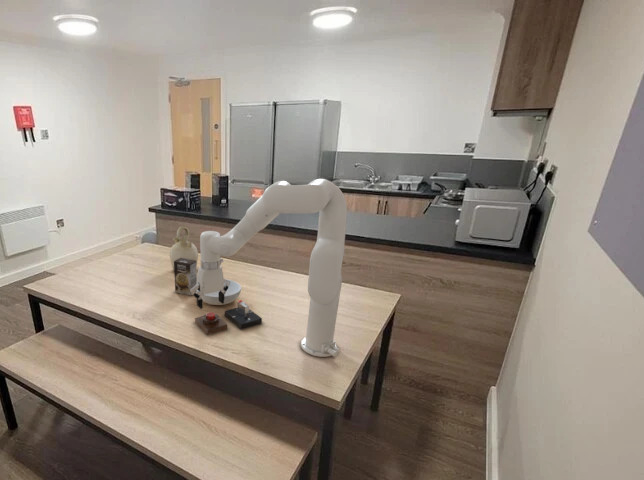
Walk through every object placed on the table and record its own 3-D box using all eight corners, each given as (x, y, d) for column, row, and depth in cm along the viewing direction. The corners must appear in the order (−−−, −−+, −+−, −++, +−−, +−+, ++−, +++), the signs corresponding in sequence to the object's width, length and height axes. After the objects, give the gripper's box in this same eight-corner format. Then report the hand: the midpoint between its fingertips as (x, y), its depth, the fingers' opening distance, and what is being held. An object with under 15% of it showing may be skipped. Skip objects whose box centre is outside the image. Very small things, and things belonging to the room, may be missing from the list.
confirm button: (216, 318, 151) (216, 315, 150) (208, 321, 149) (208, 317, 148) (212, 315, 154) (212, 311, 153) (204, 317, 152) (204, 313, 151)
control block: (227, 329, 150) (227, 320, 149) (207, 334, 146) (207, 325, 145) (214, 317, 159) (214, 309, 158) (195, 322, 155) (194, 314, 154)
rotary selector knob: (248, 316, 154) (249, 305, 152) (244, 318, 153) (245, 306, 151) (241, 310, 159) (241, 299, 157) (237, 311, 158) (237, 300, 156)
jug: (166, 268, 213) (164, 225, 203) (192, 263, 218) (190, 221, 209) (176, 277, 200) (173, 231, 190) (202, 272, 206) (201, 228, 196)
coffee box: (174, 292, 183) (172, 261, 176) (181, 287, 188) (180, 257, 181) (190, 296, 179) (189, 264, 172) (197, 291, 184) (196, 259, 178)
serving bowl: (248, 296, 178) (248, 283, 175) (227, 315, 161) (227, 300, 158) (210, 287, 187) (210, 274, 185) (186, 304, 171) (186, 290, 168)
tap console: (261, 323, 154) (262, 317, 153) (240, 329, 150) (240, 323, 149) (244, 310, 165) (244, 305, 164) (224, 316, 160) (224, 310, 159)
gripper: (225, 257, 149) (225, 296, 156) (185, 264, 142) (186, 305, 148) (235, 263, 143) (234, 303, 150) (194, 271, 135) (195, 313, 142)
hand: (210, 304), depth 149 cm, fingers open, 9 cm apart
